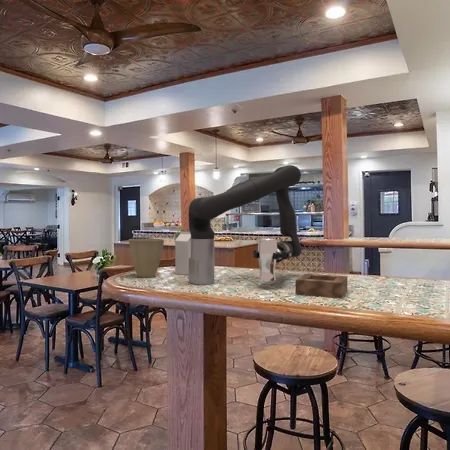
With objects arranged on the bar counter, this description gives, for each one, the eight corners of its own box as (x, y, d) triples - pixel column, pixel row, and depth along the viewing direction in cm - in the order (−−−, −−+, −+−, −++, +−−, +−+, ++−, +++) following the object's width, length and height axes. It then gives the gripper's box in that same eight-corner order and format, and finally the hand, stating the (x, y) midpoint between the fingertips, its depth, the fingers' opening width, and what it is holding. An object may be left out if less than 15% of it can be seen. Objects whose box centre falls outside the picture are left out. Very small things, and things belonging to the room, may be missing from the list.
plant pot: (160, 279, 161) (160, 240, 161) (124, 279, 161) (124, 240, 161) (166, 273, 176) (166, 238, 176) (133, 273, 176) (133, 238, 176)
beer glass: (278, 279, 145) (279, 238, 144) (274, 282, 138) (275, 239, 138) (260, 278, 147) (260, 238, 147) (255, 281, 141) (255, 239, 140)
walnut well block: (295, 294, 131) (295, 279, 131) (305, 287, 145) (305, 273, 145) (341, 298, 125) (341, 282, 125) (347, 290, 139) (347, 276, 139)
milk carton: (187, 275, 172) (187, 232, 171) (175, 274, 175) (175, 231, 175) (197, 273, 178) (197, 231, 177) (184, 272, 181) (185, 231, 181)
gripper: (261, 241, 158) (246, 244, 143) (296, 243, 153) (285, 246, 137) (261, 260, 159) (246, 265, 143) (296, 262, 153) (285, 267, 138)
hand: (265, 256), depth 140 cm, fingers closed on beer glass, 6 cm apart
